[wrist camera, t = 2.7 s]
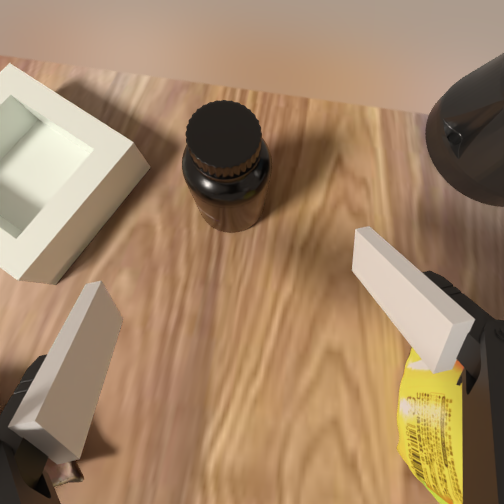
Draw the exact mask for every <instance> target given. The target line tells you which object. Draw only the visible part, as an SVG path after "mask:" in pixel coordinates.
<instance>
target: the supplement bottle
mask: <svg viewBox="0 0 504 504" xmlns="http://www.w3.org/2000/svg"><path fill="white" fill-rule="evenodd" d="M186 137H187V138H186V143H187V145H186V147H185V150H184V153H183V157H182V170H183V175H184V178H185V181H186V183H187V185H188V188H189V190H190V192H191V194H192V196H193V198H194V200H195V202H196V205H197V207H198V209H199V211H200V213H201V215H202V216H203V218H204V219H205V221H206V222H207V223H208V224H209V225H210V226H212V227H213V228H215V229H217V230H219V231H223V232H228V233H235V232H240V231H243V230H246V229H248V228H249V227H251V226H252V225H253V224H255V223H256V222H257V220H258V219H259V218H260V216H261V214H262V212H263V209H264V205H265V200H266V196H267V191H268V186H269V182H270V177H271V171H272V159H271V154H270V151H269V148H268V146H267V144H266V142H265V141H264V139H263V138H262V133H261V127H260V125H259V121H258V120H257V119H256V116H255V115H254V114H253V113H252V112H251V110H250V109H247V108H246V107H245V106H244V105H241V104H240V103H238V102H233V101H226V100H222V101H215V102H210V103H208V104H207V105H203V106H202V107H201V108H199V109H197V111H196V112H195V113H194V114H193V115H192V118H191V119H190V120H189V124H188V125H187V131H186Z"/></svg>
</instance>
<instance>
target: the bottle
mask: <svg viewBox="0 0 504 504" xmlns="http://www.w3.org/2000/svg"><path fill="white" fill-rule="evenodd" d="M463 369H464V367H463V366H462V365H461V363H460V362H459V361H458V360H456V362H455V364H454V367H453V369H452V370H447V371H443V372H439V373H435V374H433V373H432V372H431V370H430V369H429V368H428V367H427V365H426V364H425V363H424V362H423V360H422V359H421V358H420V356H419V355H418V354H417V353H416V351H415V350H414V349H413V348H411V352H410V356H409V358H408V360H407V362H406V365H405V370H404V374H403V378H402V380H401V384H400V389H399V400H398V410H397V426H398V431H399V443H398V445H397V451H398V453H399V454H400V455H401V457H402V458H403V459H404V461H405V462H406V463H407V464H408V466H409V468H410V470H411V471H412V473H413V474H414V475H415V477H416V478H417V479H418V480H419V481H421V482H422V483H423V484H424V485H425V487H426V488H427V489H428V490H429V491H430V493H431V494H432V495H433V496H434V497H435V499H436V500H437V501H438V502H439V503H440V504H463V458H462V383H461V385H460V386H458V385H456V384H457V381H458V379H459V377H460V375H461V373H462V371H463Z"/></svg>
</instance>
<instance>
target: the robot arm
mask: <svg viewBox="0 0 504 504" xmlns="http://www.w3.org/2000/svg"><path fill="white" fill-rule="evenodd" d="M426 144H427V148H428V152H429V154H430V157H431V159H432V161H433V163H434V165H435V167H436V168H437V170H438V171H439V173H440V174H441V175H442V176H443V178H444V179H445V180H446V181H447V182H448V183H449V184H450V185H451V186H453V187H454V188H455V189H456V190H458V191H459V192H461V193H462V194H464V195H466V196H467V197H469V198H471V199H474V200H476V201H479V202H481V203H485V204H488V205H493V206H501V207H504V53H503V54H502V55H500V56H498V57H496V58H495V59H493V60H491V61H490V62H488V63H486V64H485V65H483V66H481V67H480V68H478V69H477V70H475V71H473V72H471V73H470V74H468V75H466V76H465V77H463V78H462V79H460V80H459V81H458V82H456V83H455V84H454V85H453V86H452V87H451V88H450V89H449V90H448V91H447V92H446V93H445V94H444V95H443V96H442V97H441V98H440V99H439V100H438V102H437V103H436V104H435V105H434V107H433V109H432V110H431V112H430V114H429V117H428V120H427V124H426ZM352 271H353V272H354V274H355V275H356V276H357V278H358V279H359V280H360V281H361V283H362V284H363V285H364V286H365V288H366V289H367V290H368V292H369V293H370V294H371V295H372V297H373V298H374V299H375V300H376V302H377V303H378V304H379V306H380V307H381V308H382V309H383V311H384V312H385V313H386V314H387V316H388V317H389V318H390V320H391V321H392V322H393V323H394V325H395V326H396V327H397V328H398V330H399V331H400V332H401V334H402V335H403V336H404V337H405V339H406V340H407V341H408V342H409V344H410V345H411V346H412V348H413V349H414V350H415V351H416V353H417V354H418V355H419V356H420V358H421V359H422V360H423V362H424V363H425V364H426V365H427V367H428V368H429V369H430V370H431V372H432V373H433V374H435V373H439V372H443V371H447V370H452V369H453V367H454V364H455V362H456V360H458V361H459V362H460V363H461V365H462V366H463V367H464V369H463V371H462V373H461V375H460V377H459V379H458V381H457V384H456V385H458V386H460V385H461V383H462V458H463V504H504V321H503V320H495V319H494V318H492V317H491V316H490V315H489V314H488V313H486V312H485V311H484V310H483V309H482V308H480V307H479V306H478V305H477V304H475V303H474V302H473V301H472V300H471V299H469V298H468V297H467V296H466V295H465V294H462V293H461V291H460V290H458V289H457V288H456V287H453V285H452V284H451V283H450V282H449V281H448V280H446V279H445V278H444V277H442V276H440V275H438V274H436V273H434V272H432V271H427V272H421V271H420V270H419V269H417V268H416V267H415V266H414V265H413V264H412V263H411V262H409V261H408V260H407V259H406V258H405V257H404V256H403V255H402V254H400V253H399V252H398V251H397V250H396V249H395V248H394V247H392V246H391V245H390V244H389V243H388V242H387V241H386V240H385V239H383V238H382V237H381V236H380V235H379V234H378V233H377V232H375V231H374V230H373V229H372V228H371V227H370V226H368V227H363V228H358V229H355V241H354V252H353V264H352ZM122 322H123V317H122V316H121V314H120V312H119V310H118V309H117V307H116V305H115V303H114V302H113V300H112V298H111V296H110V295H109V293H108V291H107V289H106V288H105V286H104V284H103V282H102V281H98V282H93V283H88V284H86V285H85V286H84V288H83V290H82V292H81V294H80V296H79V297H78V299H77V301H76V303H75V305H74V307H73V308H72V310H71V312H70V314H69V316H68V318H67V319H66V321H65V323H64V325H63V327H62V329H61V330H60V332H59V334H58V336H57V338H56V340H55V341H54V343H53V345H52V347H51V349H50V351H49V352H48V354H47V355H42V356H39V357H38V358H37V359H36V360H35V361H34V362H33V363H32V365H31V366H30V367H29V368H28V369H27V370H26V372H25V374H24V376H23V377H22V379H21V381H20V384H18V386H17V388H16V389H15V391H14V395H12V396H11V398H10V399H9V401H8V403H7V405H6V406H5V408H4V410H3V411H2V413H1V415H0V504H61V503H60V501H59V499H58V496H57V494H56V491H55V489H54V486H53V484H52V482H51V479H50V477H49V474H48V473H47V472H46V471H45V470H44V467H45V465H46V462H47V460H48V458H49V459H51V460H52V461H53V462H55V463H56V464H62V463H66V462H70V461H74V460H78V459H80V457H81V454H82V451H83V447H84V444H85V441H86V438H87V435H88V431H89V428H90V425H91V422H92V419H93V415H94V412H95V409H96V406H97V403H98V399H99V396H100V393H101V390H102V386H103V383H104V380H105V377H106V374H107V370H108V367H109V364H110V361H111V358H112V354H113V351H114V348H115V345H116V342H117V338H118V335H119V332H120V329H121V325H122Z"/></svg>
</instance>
